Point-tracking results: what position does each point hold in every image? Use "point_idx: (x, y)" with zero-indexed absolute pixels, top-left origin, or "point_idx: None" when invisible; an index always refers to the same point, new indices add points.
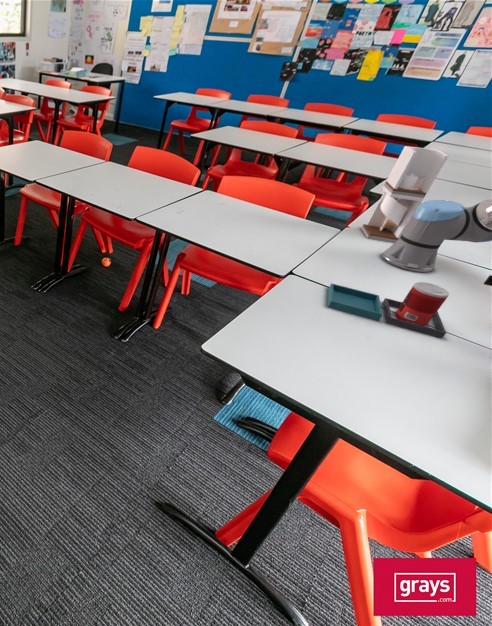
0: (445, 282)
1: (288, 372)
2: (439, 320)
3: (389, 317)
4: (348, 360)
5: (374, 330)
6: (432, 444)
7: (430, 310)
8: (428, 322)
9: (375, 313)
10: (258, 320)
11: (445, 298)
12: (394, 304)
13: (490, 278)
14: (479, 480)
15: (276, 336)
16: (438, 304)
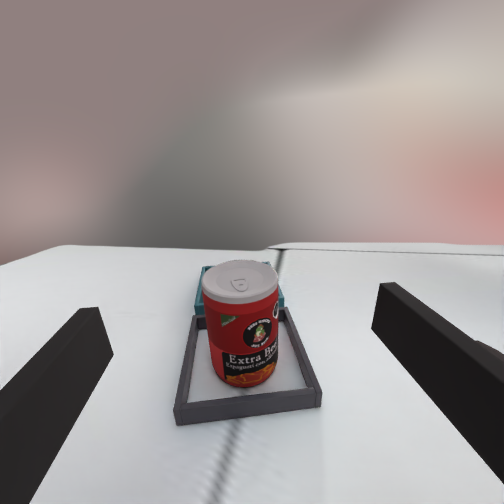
0: None
1: (13, 274)
2: (253, 395)
3: (193, 315)
4: (40, 303)
5: (152, 317)
6: None
7: (208, 330)
8: (228, 376)
9: (195, 300)
10: (128, 251)
11: (218, 305)
12: (287, 326)
13: (380, 298)
14: None
15: (95, 261)
16: (210, 317)
